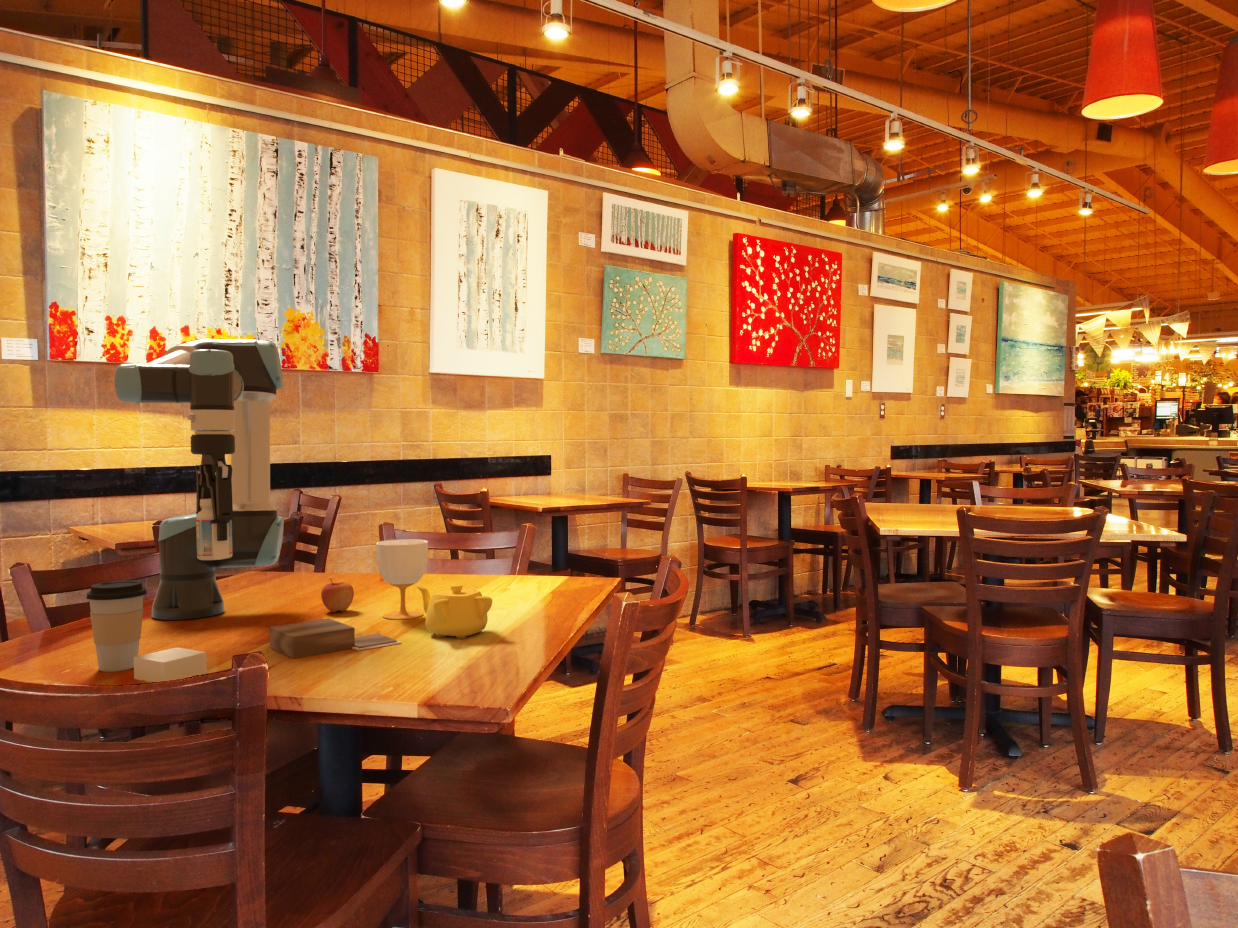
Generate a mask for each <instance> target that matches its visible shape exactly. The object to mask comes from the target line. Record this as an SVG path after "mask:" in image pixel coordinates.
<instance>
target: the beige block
mask: <svg viewBox="0 0 1238 928" xmlns="http://www.w3.org/2000/svg"><path fill="white" fill-rule="evenodd" d="M207 664H208V663H207V651H200V650H195V649H191V648H190V649H189V648H184V647H178V646H176V647H172V648H168V649H163V650H159V651H155V652H151V653H145V654H141V655H138V656H136V657H134V668H133V679H134V680H139V681H142V680H146V681H145V682H147V683H152V682H160V681H169V680H176V679H182V678H187V677H189V676H195V675H199V676H202V674H203V675H206V674H207V671H208V670H207ZM195 677H196V676H195Z"/></svg>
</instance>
